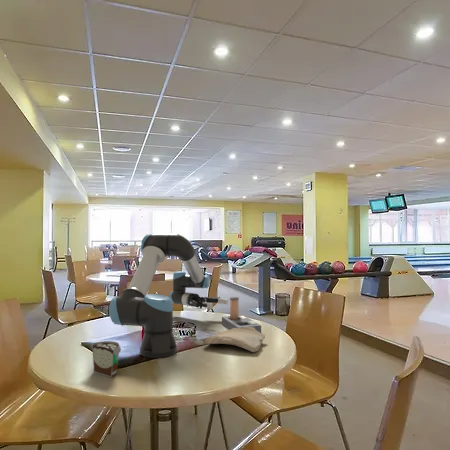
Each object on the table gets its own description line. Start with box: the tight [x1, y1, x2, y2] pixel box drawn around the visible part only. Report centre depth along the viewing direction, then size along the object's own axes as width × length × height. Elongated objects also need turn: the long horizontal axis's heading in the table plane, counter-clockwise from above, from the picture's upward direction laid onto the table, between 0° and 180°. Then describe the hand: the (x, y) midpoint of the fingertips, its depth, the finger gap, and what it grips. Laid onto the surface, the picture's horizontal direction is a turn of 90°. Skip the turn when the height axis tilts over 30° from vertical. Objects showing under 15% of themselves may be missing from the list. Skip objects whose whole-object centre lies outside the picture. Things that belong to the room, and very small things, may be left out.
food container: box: [91, 340, 122, 378], centre depth 130 cm, size 12×6×10 cm, turn 58°
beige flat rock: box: [202, 327, 266, 353], centre depth 160 cm, size 24×8×20 cm
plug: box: [229, 296, 240, 320], centre depth 193 cm, size 5×5×15 cm
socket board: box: [221, 314, 262, 333], centre depth 187 cm, size 24×12×4 cm, turn 20°
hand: (220, 304), depth 198 cm, fingers open, 13 cm apart
